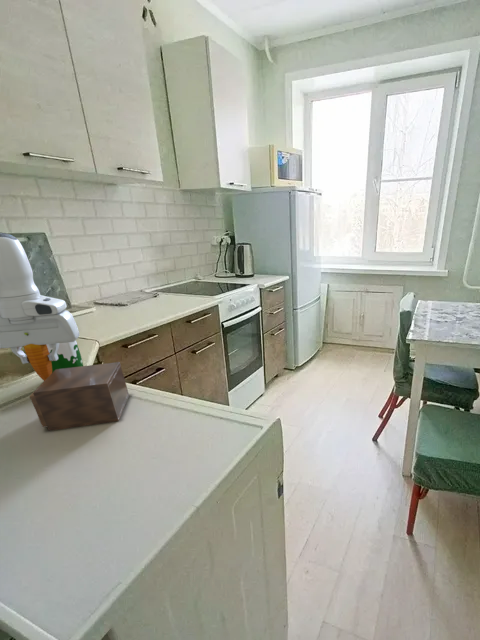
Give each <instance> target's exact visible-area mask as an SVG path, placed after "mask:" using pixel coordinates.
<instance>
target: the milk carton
mask: <svg viewBox="0 0 480 640" xmlns="http://www.w3.org/2000/svg"><path fill="white" fill-rule="evenodd" d="M46 345H47V348H48V351H49V353H52V349H53V348H50V346H49V344H46ZM80 351H81V350H80V348H79V345H78V343H77V340H75V341H74V342H68V343H59V348H58V351H57V355H58V360H57V361H51V364H52V373H53V372H54V371H55V370H56V369H64V368H72V367H81V366H84V363H83V357H82V355H81V352H80Z"/></svg>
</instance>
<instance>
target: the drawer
mask: <svg viewBox="0 0 480 640" xmlns="http://www.w3.org/2000/svg"><path fill="white" fill-rule="evenodd" d="M29 398H30V400H31V403H32V405H33V407H34V410H35V412H36V415H37V417H38V419H39V422H40V424H41V427H42V428H47V425H46V423H45V420H44V418H43V416H42V413H41V411H40V408H39V406H38V404H37V401H36V399H35V396H34V394H33V392H32V393H31V394H30V395H29Z"/></svg>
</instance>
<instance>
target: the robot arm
mask: <svg viewBox="0 0 480 640" xmlns="http://www.w3.org/2000/svg"><path fill="white" fill-rule="evenodd" d="M24 333H28V334H29V335H28V336H27V335H25V334H24ZM79 337H80V331H79V328H78V324H77V322H76V319H75V318H74V315H73V314H72V312H70V311H69V310H67V302H66V300H64V299H62V298H57V297H51V296H48V295H43V294H41V292H40V290H39V287H38V286H37V285H36V283H35V280H34V272H33V268H32V266H31V263H30V261H29V258H28V255H27V253H26V251H25V249H24V246H23V245H22V243H21V242H20V240H19V239H18V238H17V237H15V236H14V235H12V234H11V233H6V232H2V231H1V232H0V349H10V350H11V352H12V353H13V354H14V355H15V356H17V358H20V362H21V363H22V365H26V364H31V363H30V361H29V359H28V357H27V354H26V352H25V351H23V350H22V349H23V348H24V346H26V345H28V344H35V345H45V344H49V346H50V348H53V349H52V353H49V354H48V358H49V360H50V361H57V360H58V355H57V351H58V348H59V343H68V342H74V341H75V340H76V341H78V339H79Z"/></svg>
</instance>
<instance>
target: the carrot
mask: <svg viewBox="0 0 480 640" xmlns="http://www.w3.org/2000/svg"><path fill="white" fill-rule="evenodd" d="M24 334H25V335H27V336H28V335H29V334H28V333H24ZM23 349H24V353H25V354H26V355H27V357H28V359H29V361H30V363H29V364H30V366H31V367H32V369H33V370H34V372H35V373H36V375H37V376H38V377H39V378H40V379H41V380H43V382H44V381H45V380H46V379H47V378H48V377H49V376H50V375H51V374H52V364H51V361H50V360H49V358H48V354H49V351H48V348H47V345H46V344H45V345H35V344H28V345H26V346H23Z"/></svg>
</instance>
